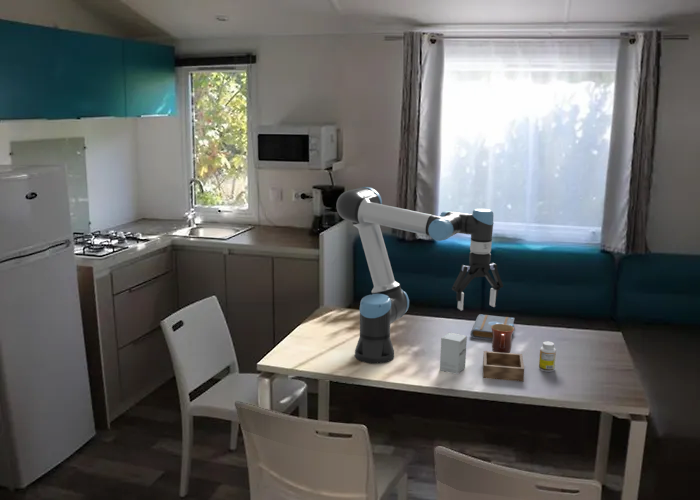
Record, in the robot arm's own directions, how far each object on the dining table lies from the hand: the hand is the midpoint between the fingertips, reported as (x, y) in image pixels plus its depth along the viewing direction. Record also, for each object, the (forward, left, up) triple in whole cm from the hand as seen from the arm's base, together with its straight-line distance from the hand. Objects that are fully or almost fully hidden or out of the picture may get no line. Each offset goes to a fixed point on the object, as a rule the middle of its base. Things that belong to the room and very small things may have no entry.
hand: (476, 307), depth 245 cm
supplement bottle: (+27, -1, -22) cm, 34 cm away
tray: (+11, -7, -22) cm, 25 cm away
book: (+8, +36, -22) cm, 43 cm away
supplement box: (-7, -8, -22) cm, 24 cm away
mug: (+11, +11, -22) cm, 26 cm away
